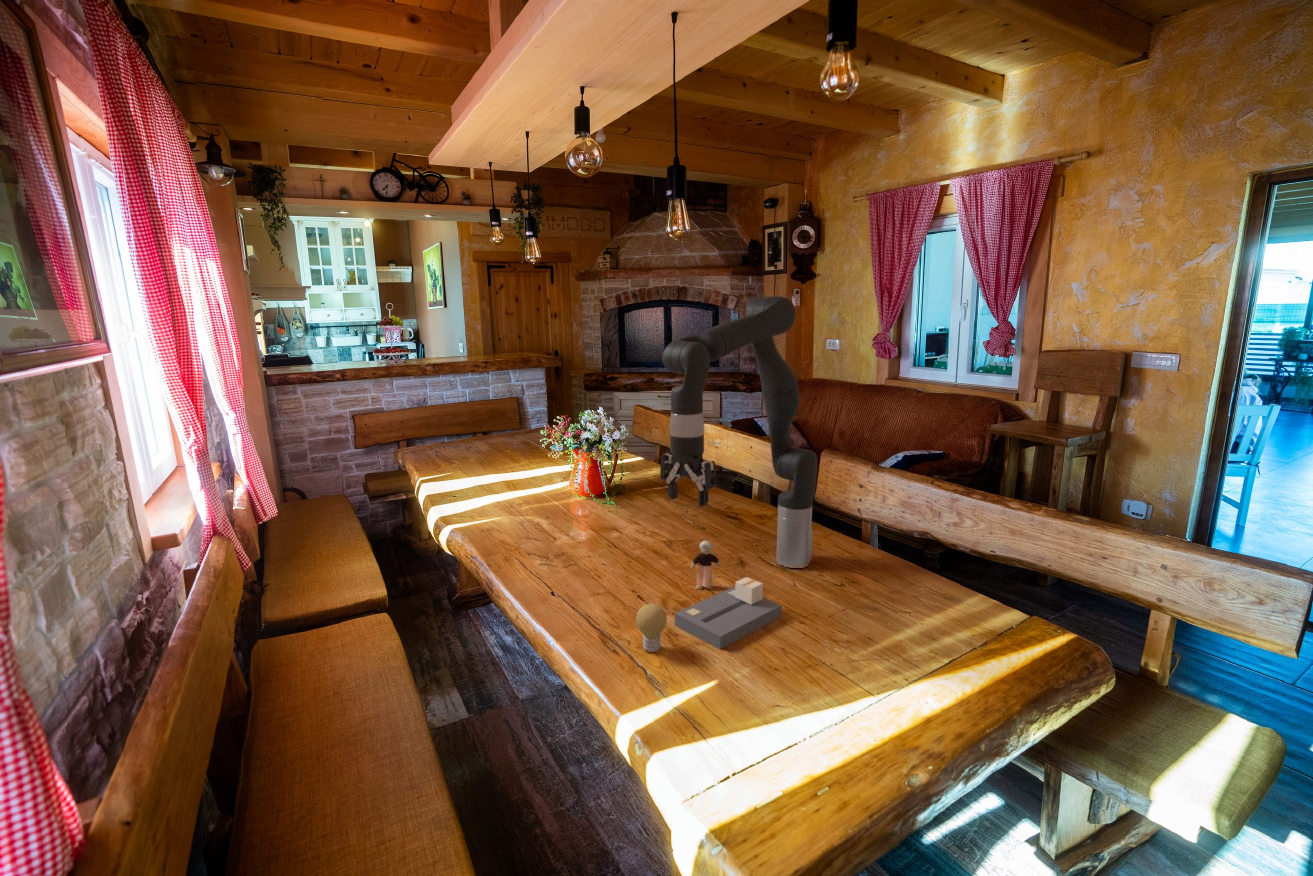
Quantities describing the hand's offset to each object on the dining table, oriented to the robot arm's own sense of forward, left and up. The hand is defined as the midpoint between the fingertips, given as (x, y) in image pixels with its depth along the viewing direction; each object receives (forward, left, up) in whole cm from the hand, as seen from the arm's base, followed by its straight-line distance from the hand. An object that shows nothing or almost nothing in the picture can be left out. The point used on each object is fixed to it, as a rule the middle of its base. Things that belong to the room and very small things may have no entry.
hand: (687, 502), depth 143 cm
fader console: (-5, +9, -28) cm, 29 cm away
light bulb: (+16, +6, -28) cm, 33 cm away
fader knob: (-12, +9, -24) cm, 28 cm away
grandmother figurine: (-14, -7, -28) cm, 32 cm away
